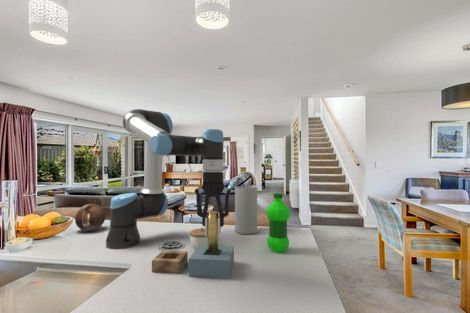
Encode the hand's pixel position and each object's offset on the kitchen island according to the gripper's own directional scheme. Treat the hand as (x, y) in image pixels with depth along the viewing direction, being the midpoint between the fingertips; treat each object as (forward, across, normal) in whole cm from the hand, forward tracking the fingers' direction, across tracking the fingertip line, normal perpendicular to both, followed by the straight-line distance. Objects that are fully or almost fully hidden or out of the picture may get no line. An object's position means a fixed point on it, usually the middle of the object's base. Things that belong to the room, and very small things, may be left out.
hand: (213, 235), depth 91 cm
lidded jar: (+12, -9, +20) cm, 25 cm away
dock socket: (+12, 0, 0) cm, 12 cm away
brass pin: (+6, 0, 0) cm, 6 cm away
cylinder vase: (+12, +9, +50) cm, 52 cm away
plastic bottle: (+12, +25, +22) cm, 36 cm away
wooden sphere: (+12, -79, +42) cm, 90 cm away
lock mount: (+12, -16, 0) cm, 20 cm away
